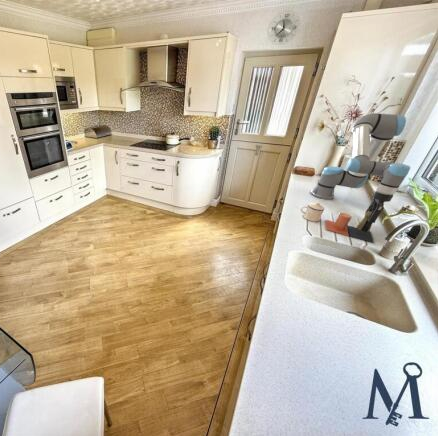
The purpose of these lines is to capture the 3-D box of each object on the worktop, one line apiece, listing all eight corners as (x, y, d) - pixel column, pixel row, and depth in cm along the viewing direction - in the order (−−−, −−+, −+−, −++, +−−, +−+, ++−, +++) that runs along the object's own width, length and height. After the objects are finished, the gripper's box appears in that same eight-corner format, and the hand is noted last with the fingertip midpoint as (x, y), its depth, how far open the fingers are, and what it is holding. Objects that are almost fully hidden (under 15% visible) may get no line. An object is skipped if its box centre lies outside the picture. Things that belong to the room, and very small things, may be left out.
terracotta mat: (325, 220, 152) (326, 219, 152) (346, 226, 147) (346, 225, 147) (326, 230, 142) (326, 229, 142) (348, 236, 137) (348, 235, 137)
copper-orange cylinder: (332, 224, 148) (339, 211, 143) (344, 227, 145) (351, 214, 140) (333, 228, 143) (339, 215, 139) (345, 231, 140) (352, 218, 136)
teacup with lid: (318, 217, 156) (326, 202, 150) (319, 223, 149) (327, 207, 143) (298, 212, 161) (304, 197, 155) (297, 218, 154) (304, 202, 148)
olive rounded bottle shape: (371, 232, 134) (382, 215, 129) (360, 230, 135) (369, 214, 130) (365, 226, 140) (375, 210, 134) (354, 225, 141) (363, 209, 135)
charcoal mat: (347, 226, 147) (347, 225, 147) (369, 232, 142) (369, 231, 142) (349, 236, 137) (349, 235, 137) (373, 243, 132) (373, 242, 132)
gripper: (398, 200, 117) (373, 238, 129) (390, 188, 131) (368, 223, 143) (379, 196, 120) (356, 233, 132) (373, 185, 134) (353, 220, 146)
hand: (363, 228), depth 137 cm, fingers closed on olive rounded bottle shape, 6 cm apart
